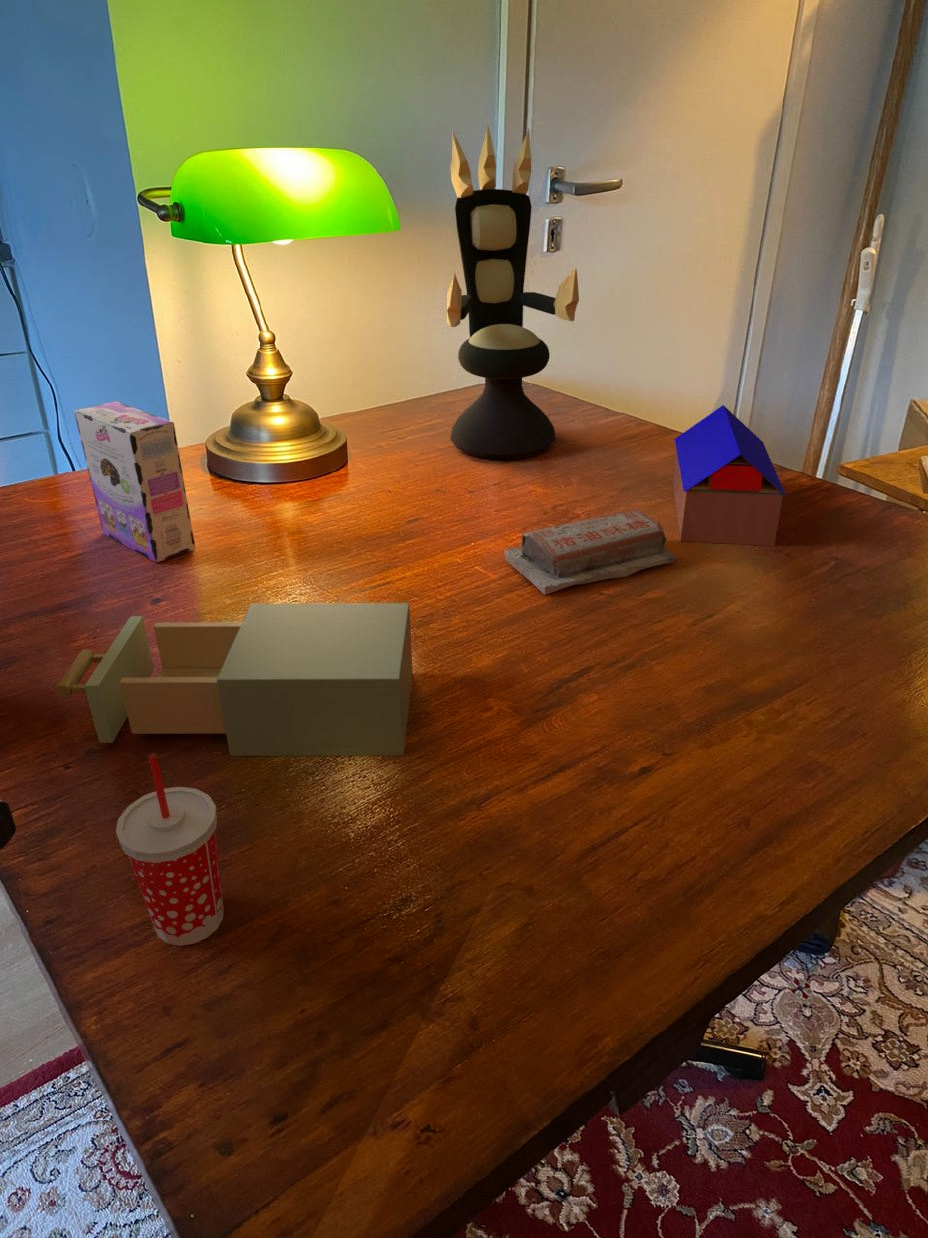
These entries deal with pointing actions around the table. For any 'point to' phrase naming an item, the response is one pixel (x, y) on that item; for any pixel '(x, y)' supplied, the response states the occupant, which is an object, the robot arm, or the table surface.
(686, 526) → the house
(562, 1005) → the table surface
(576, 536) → the packaged product
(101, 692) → the drawer
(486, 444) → the spiked throne chair
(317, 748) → the cabinet
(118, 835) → the beverage cup
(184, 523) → the candy box
